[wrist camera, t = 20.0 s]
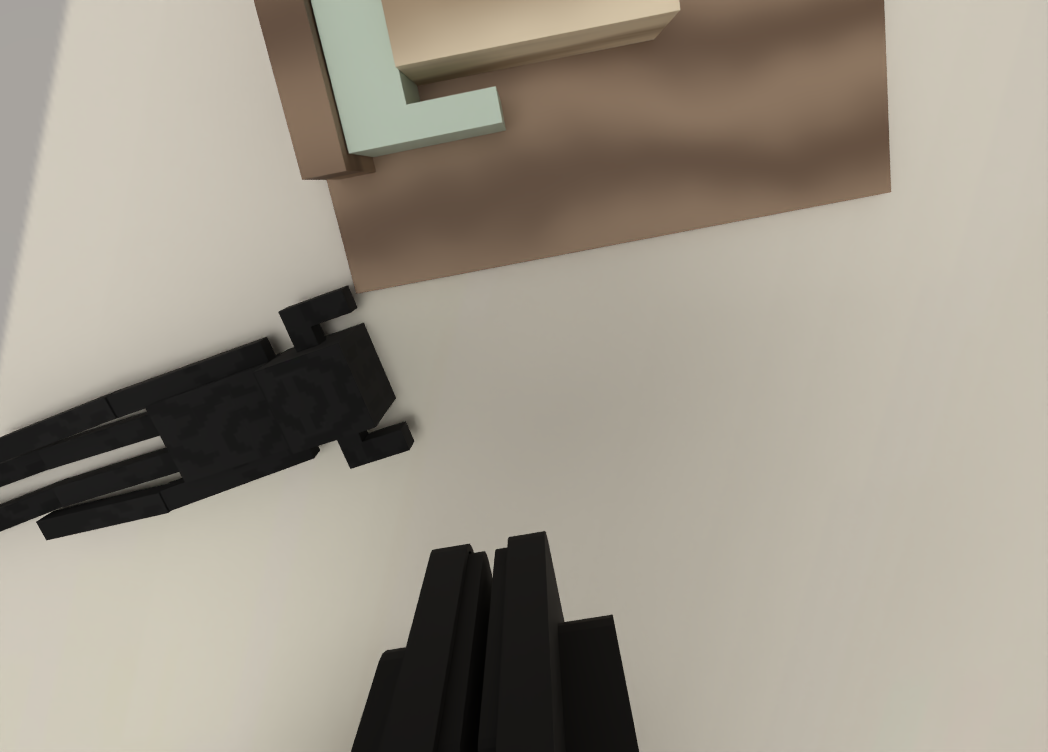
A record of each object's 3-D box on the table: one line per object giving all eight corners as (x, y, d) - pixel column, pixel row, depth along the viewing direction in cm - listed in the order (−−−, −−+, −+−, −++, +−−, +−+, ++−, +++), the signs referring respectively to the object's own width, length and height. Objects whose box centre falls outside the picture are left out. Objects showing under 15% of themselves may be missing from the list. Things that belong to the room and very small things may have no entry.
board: (883, 191, 36) (961, 194, 30) (359, 291, 38) (324, 314, 31) (865, -257, 31) (957, -375, 24) (254, -117, 32) (184, -192, 26)
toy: (0, 564, 44) (420, 430, 40) (-64, 609, 40) (402, 463, 36) (-81, 437, 42) (357, 280, 38) (-160, 470, 37) (329, 295, 33)
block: (506, 130, 34) (502, 122, 30) (373, 156, 35) (348, 153, 30) (462, -103, 32) (450, -154, 27) (319, -71, 32) (282, -115, 27)
